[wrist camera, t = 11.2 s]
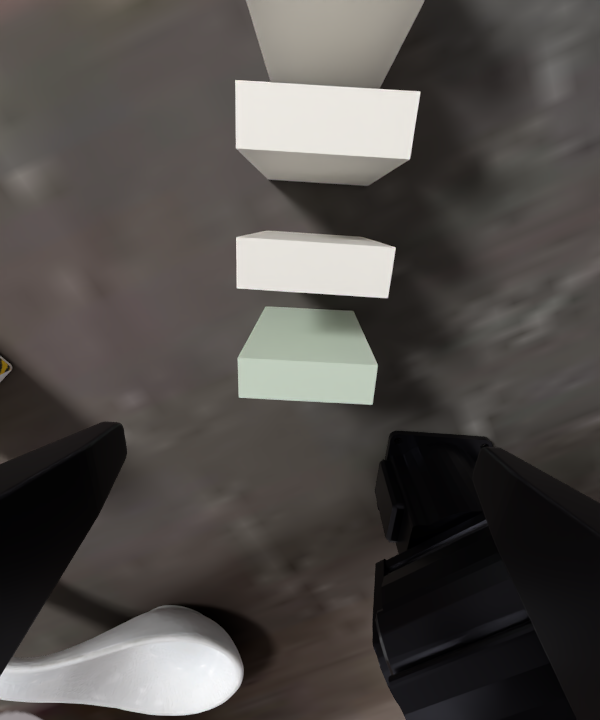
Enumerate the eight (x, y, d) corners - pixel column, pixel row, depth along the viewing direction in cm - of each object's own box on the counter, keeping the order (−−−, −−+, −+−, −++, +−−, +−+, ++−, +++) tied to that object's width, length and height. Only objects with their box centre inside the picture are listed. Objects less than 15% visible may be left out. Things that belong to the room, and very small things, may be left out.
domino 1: (271, 37, 15) (233, -134, 8) (385, 44, 15) (453, -122, 8) (270, 81, 16) (234, -39, 8) (379, 88, 16) (438, -27, 8)
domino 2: (269, 142, 17) (235, 79, 9) (372, 149, 17) (420, 91, 9) (268, 179, 17) (235, 148, 10) (367, 185, 17) (410, 159, 10)
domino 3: (267, 230, 18) (236, 237, 11) (361, 236, 18) (395, 247, 11) (266, 261, 19) (236, 288, 11) (358, 267, 19) (387, 298, 11)
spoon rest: (272, 614, 30) (260, 726, 24) (216, 680, 34) (192, 792, 28) (-1, 504, 26) (-106, 598, 20) (-29, 592, 30) (-124, 696, 24)
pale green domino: (265, 306, 20) (237, 357, 12) (353, 310, 20) (377, 365, 12) (265, 333, 20) (238, 397, 13) (350, 337, 20) (372, 404, 13)
